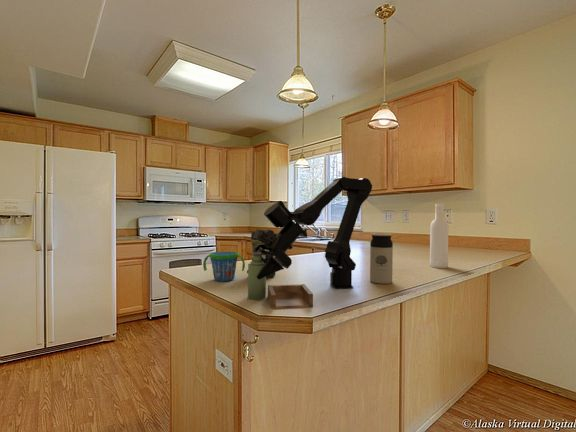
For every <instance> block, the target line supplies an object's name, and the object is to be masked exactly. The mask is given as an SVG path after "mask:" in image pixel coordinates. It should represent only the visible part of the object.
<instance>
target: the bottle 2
mask: <svg viewBox="0 0 576 432" xmlns="http://www.w3.org/2000/svg"><path fill="white" fill-rule="evenodd" d="M434 209H435V210H434V212H435V215H434V216H435V217H434V219H433V220H432V221H431V223H430V226H429V229H430V230H429V231H430V232H429V267H431V268H436V269H447V268H449V223H448V222H447V220H445V218H444V215H445V214H444V212H445V210H444V209H445V205H444V204H443V203H435V205H434Z"/></svg>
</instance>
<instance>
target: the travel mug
mask: <svg viewBox="0 0 576 432" xmlns="http://www.w3.org/2000/svg"><path fill="white" fill-rule="evenodd" d="M392 235H393V234H392V233H386V232H385V233H384V232H373V233H371V241H370V244H369V245H370V253H369V258H370V259H369V263H370V264H369V281H370V282H371V283H373V284H380V285H387V284H388V285H389V284H392V283H393V264H394V263H393V257H394V256H393V255H394V254H393V251H394V250H393V247H394V245H393V241H392Z"/></svg>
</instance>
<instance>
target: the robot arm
mask: <svg viewBox="0 0 576 432" xmlns="http://www.w3.org/2000/svg"><path fill="white" fill-rule="evenodd" d="M326 186H327V187H325V188H324V189H323V190H322V191H321V192H319V193H318V194H317V195H316V196H315V197H314V198H313V199H311V200H310V201H308V202H306V203H304V204H302V205H300V206H299V207H298V208H296V209H295V210H294V211H290V210H289V209H288V208H287V206H286V205H285V204H284V202H283V201H282V200H277V202H275V203H273V204H272V205H270V206H269V207H267V209H266V210H264V213H263V215H264V216H265V218H267V219H268V220H269V222H270V224H272V225H273V226H274V227H275V228H280V230H279V231H278V232H277V233H275V231H274V230H272V229H265V230H266V231H263V230H264V229H258V228H257V229H256V230H255V231H256V232H255V234H254V237H253V239H255V240H258V241H261V242H263V243H264V244H255V245H254V246H253V247H252V253H257V252H258V253H262V255H261V261H264V263H265V265H264V266H263V268H262V269H261V271H260V272H259V274H258V275H257V279H259V280H260V279H262V278H264V277H266V276H268V275H270V274H272V273H277V272H280V271H283V270H284V269H289V268H290V267H291V265H292V264H293V263H292V261H293V260H292V258H291V257H290V256H289V255H288V254H287V253H286V252H287V251H288V250H292V249H293V248H294V246H292V245H293V244H294V243H295V242H296V241H297V239H298V238H299V237H302V238H308V229H307V228H303V227H302V226H312V225H314V224H315V223H316V222H317V220H318V219H319V217H320V216H321V213H322V211H323V210H324V209H325V208H326V206H327V205H329V204H330V203H331V202H332V201H333V200H334V199H335V198H337V197H338V196H339V194H341V193H342V191H344V192H346V197H347V203H346V205H345V210H344V212H343V215H342V217H341V221H340V224H339V227H338V231H337V232H336V236H335V238H334V239H333V240H332V241H331V240H328V241H327V245H326V248H325V249H324V251H323V252H324V258H325V260H326V262H327V263H328V267H329V268H331V272H330V273H329V274H330V275H329V277H330V279H329V282H330V283H329V285H331V286H332V287H333V288H334V289H353V288H354V286H353V285H352V277H353V275H352V274H353V273H352V271H355V269H356V266H357V264H356V262H355V261H354V260H353V259H352V257H351V253H352V250H351V249H352V248H351V245H350V240H351V238H352V235H353V232H354V229H355V225H356V222H357V219H358V216H359V213H360V210H361V207H362V204H364V202H365V201H366V200H367V199H368V198H369V197H370V194H371V192H372V190H373V184H372V182H371V180H370V179H369V178H365V177H364V178H363V177H361V178H351V177H350V178H349V177H346V176H340V177H336V178H334V179H333V181H332V182H331V183H330V184H329V185H326ZM251 261H253V260H252V259H251ZM246 273H247V274H248V269H247V270H246Z"/></svg>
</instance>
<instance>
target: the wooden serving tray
mask: <svg viewBox="0 0 576 432" xmlns="http://www.w3.org/2000/svg"><path fill="white" fill-rule="evenodd" d="M267 298H268V299H267V300H268V302H269V306H270V309H295V308H296V309H298V308H313V307H314V293H313V291H311V290H310V288H308V286H307V285H306V284H305V283H303V284H302V283H301V284H298V283H297V284H275V285H274V284H272V285H271V284H269V285H267Z"/></svg>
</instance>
